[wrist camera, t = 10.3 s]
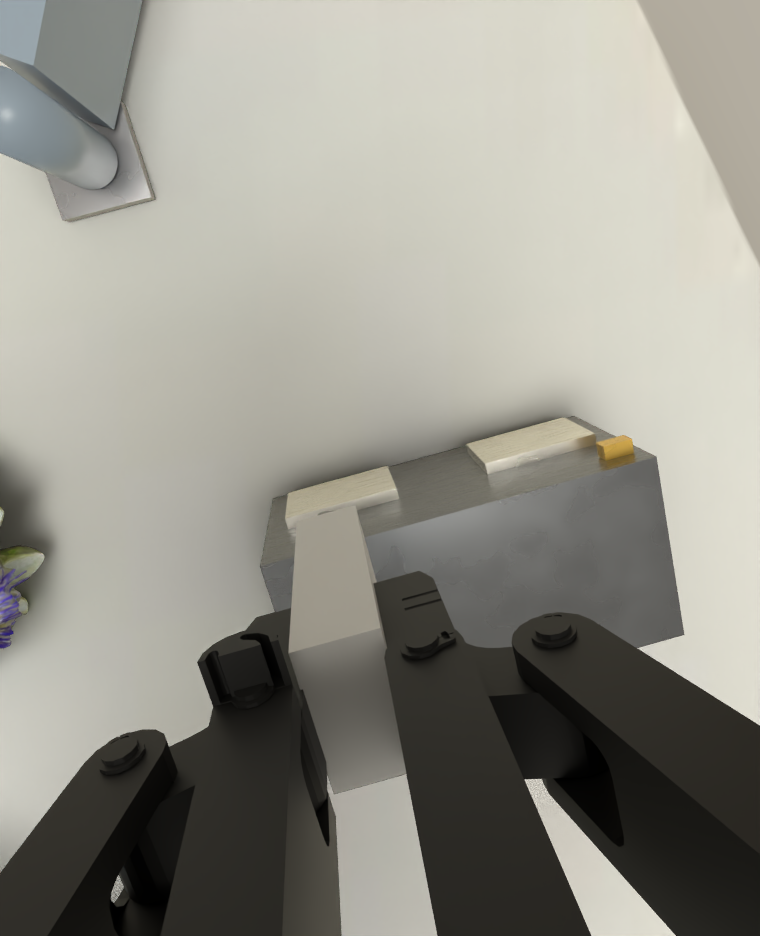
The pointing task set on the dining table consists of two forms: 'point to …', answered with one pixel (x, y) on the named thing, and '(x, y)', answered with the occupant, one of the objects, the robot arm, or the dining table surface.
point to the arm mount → (123, 188)
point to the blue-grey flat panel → (64, 83)
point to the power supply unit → (510, 532)
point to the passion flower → (14, 584)
